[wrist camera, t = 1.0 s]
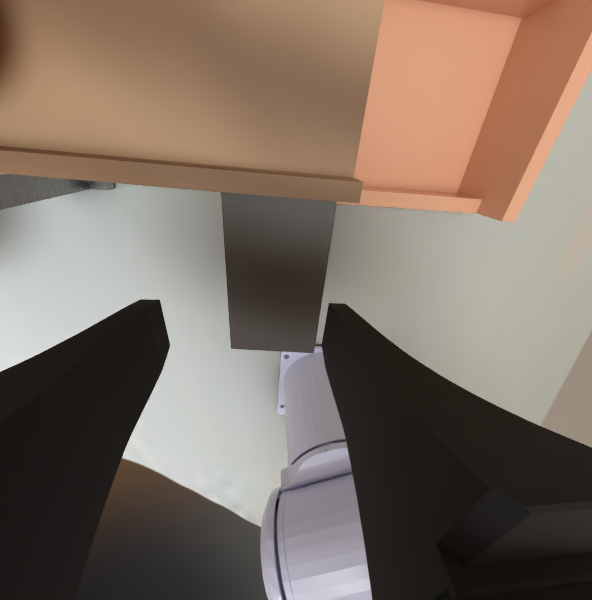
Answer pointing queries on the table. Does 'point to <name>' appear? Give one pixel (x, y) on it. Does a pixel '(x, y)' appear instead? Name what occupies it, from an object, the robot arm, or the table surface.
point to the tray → (469, 101)
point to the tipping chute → (204, 125)
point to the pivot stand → (41, 188)
